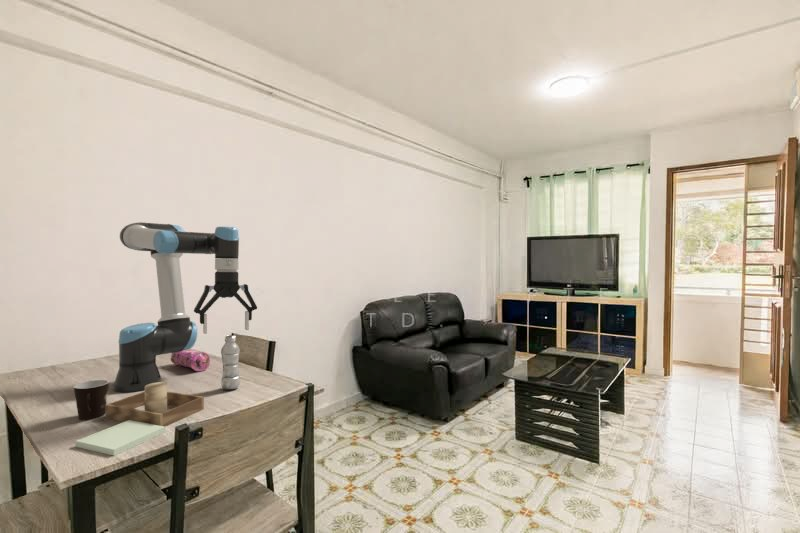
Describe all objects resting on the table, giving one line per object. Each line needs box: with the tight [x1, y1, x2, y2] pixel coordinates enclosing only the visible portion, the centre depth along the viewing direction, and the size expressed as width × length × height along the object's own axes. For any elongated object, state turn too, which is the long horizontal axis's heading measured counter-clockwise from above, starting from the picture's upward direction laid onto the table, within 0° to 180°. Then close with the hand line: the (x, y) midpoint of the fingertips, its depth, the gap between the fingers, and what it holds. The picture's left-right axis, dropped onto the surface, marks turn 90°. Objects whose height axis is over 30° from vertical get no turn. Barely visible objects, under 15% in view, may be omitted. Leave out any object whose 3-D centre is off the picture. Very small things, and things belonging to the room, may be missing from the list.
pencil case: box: [170, 349, 211, 372], centre depth 174 cm, size 21×9×9 cm, turn 55°
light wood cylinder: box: [144, 381, 168, 413], centre depth 122 cm, size 6×6×9 cm
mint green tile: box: [75, 420, 166, 456], centre depth 104 cm, size 14×14×2 cm
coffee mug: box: [73, 379, 110, 421], centre depth 118 cm, size 12×9×10 cm
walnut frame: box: [104, 390, 205, 428], centre depth 122 cm, size 23×16×4 cm
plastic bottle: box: [220, 334, 241, 391], centre depth 145 cm, size 6×7×20 cm
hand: (226, 331), depth 136 cm, fingers open, 13 cm apart
